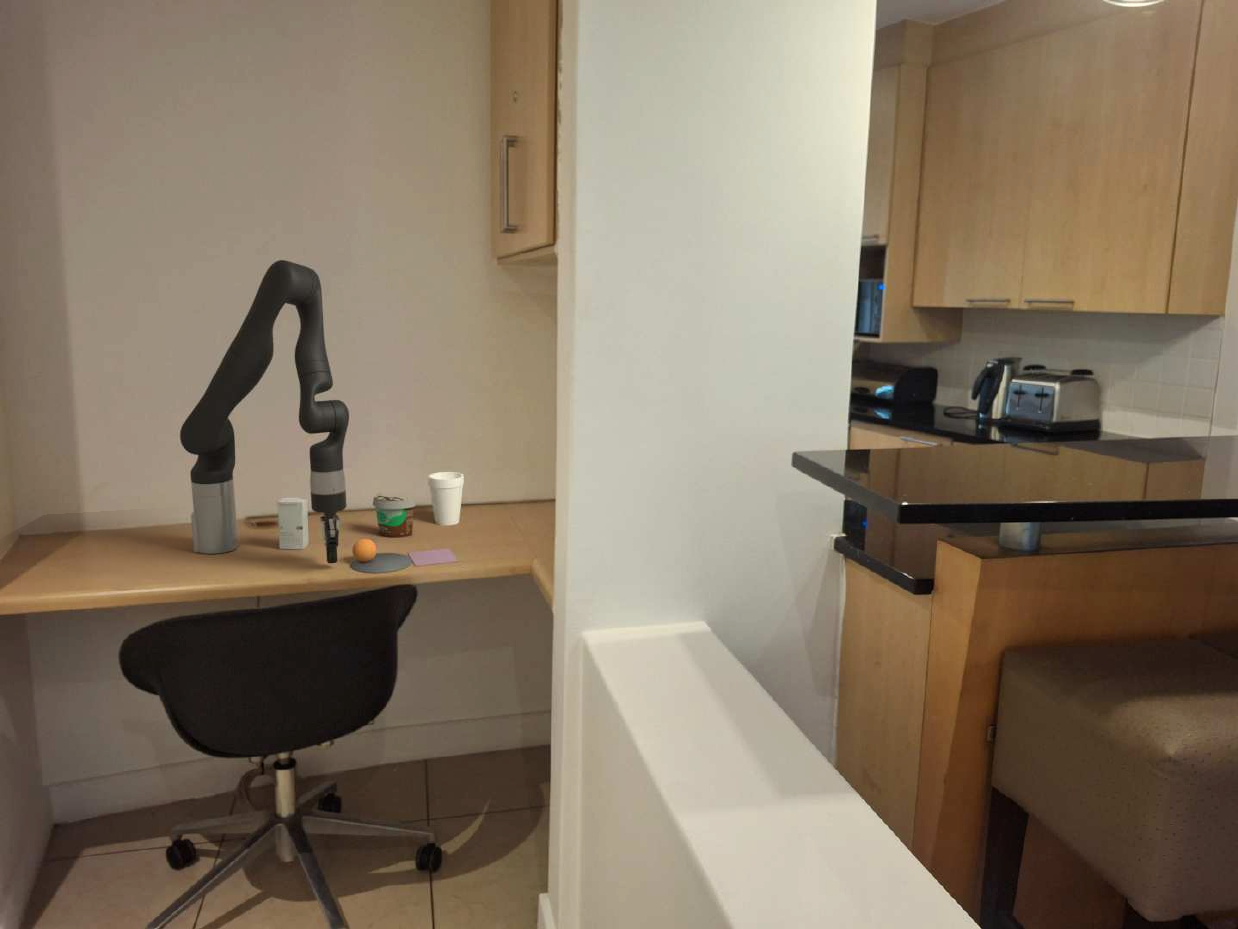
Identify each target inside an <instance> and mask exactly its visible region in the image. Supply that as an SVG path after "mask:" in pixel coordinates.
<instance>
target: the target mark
mask: <svg viewBox="0 0 1238 929" xmlns="http://www.w3.org/2000/svg"><path fill="white" fill-rule="evenodd" d="M412 563H413V561H412V559H411V558H410V556H409V555H406V554H403V553H397V552H396V553H394V552H379V553H377V552H376V555H375V557H374V558H373V559H372V560H371V561H369V562H360V561H358V560H356V559H355V558H354V559H353V560H352V561H351V562H350V564H349V566H350V568H351V569H352V570H354V571H356V572H360V573H365V574H366V573H367V574H385V573H391V572H397V571H400V570H403V569H406V568H408V567H409V566H412Z"/></svg>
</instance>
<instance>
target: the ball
mask: <svg viewBox="0 0 1238 929" xmlns="http://www.w3.org/2000/svg"><path fill="white" fill-rule="evenodd" d="M377 552H378V549H377V545H376V544H375V543H374V541H372V540H371V539H368V538H361V539H358V540H357V541H355V543H354V544H353V546H352V555H353V557H354V560H355V559H356V560H358V561H360V562H369V561H371V560H372V559H373V558H374V557H375V555H376V554H377Z"/></svg>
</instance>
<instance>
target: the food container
mask: <svg viewBox="0 0 1238 929" xmlns="http://www.w3.org/2000/svg"><path fill="white" fill-rule="evenodd" d="M381 494H382V493H381V492H378V493H376V494H375V495H374V497H373V499H372V500H373V501H372V506H374V507H375V512H376V514H375V515H376V519H377V520H376V521H377V526H378V534H379V536H381V537H383V538H388V539H389V538H390V539H397V538H398V539H399V538H407V537H411V536H413V526H414V525H413V524H414V507H416V501H415V498H414V497H413V498H409V499H403V498H400V497H397V496H393V497H389V496H382V495H381Z"/></svg>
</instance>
